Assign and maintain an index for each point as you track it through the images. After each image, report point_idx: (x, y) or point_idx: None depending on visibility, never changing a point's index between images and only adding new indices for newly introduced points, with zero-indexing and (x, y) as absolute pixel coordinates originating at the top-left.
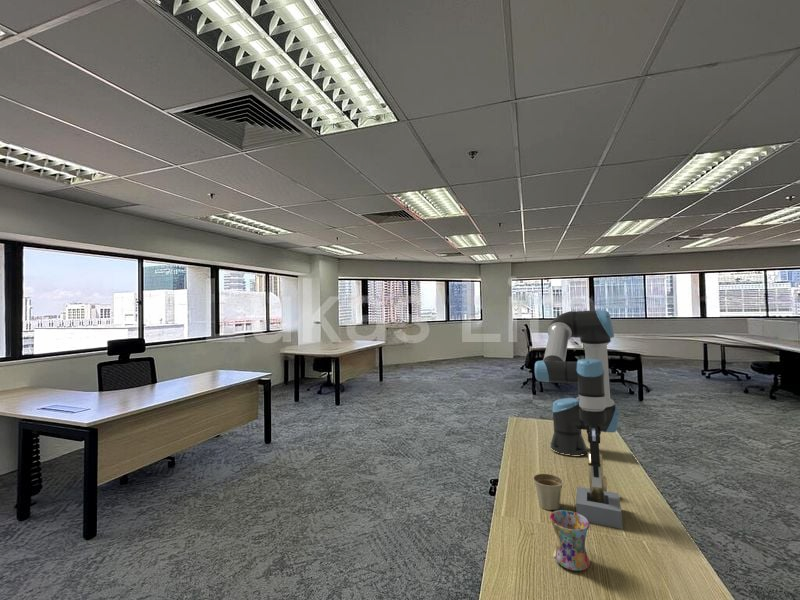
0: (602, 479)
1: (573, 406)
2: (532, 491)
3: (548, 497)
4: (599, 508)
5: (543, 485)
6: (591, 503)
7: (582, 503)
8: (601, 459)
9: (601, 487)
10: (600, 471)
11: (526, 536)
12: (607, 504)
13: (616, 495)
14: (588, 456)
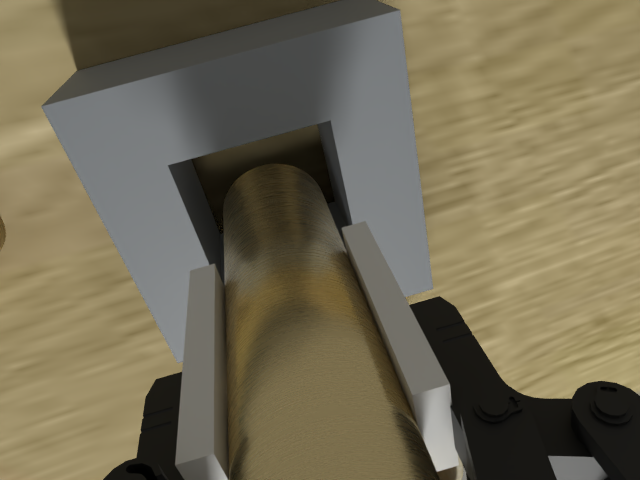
0: (320, 264)
1: None
2: None
3: None
4: (414, 161)
5: (460, 474)
6: (385, 220)
7: (416, 261)
8: (378, 471)
9: (367, 226)
10: (420, 334)
11: (627, 326)
12: (336, 130)
13: (105, 110)
14: None
